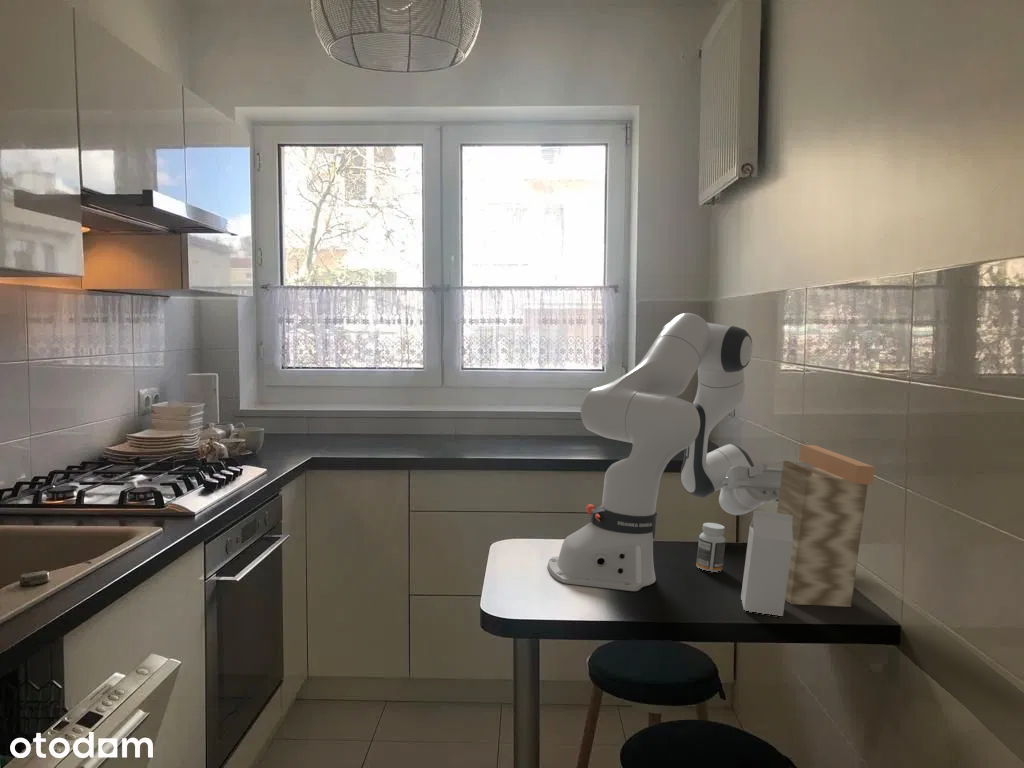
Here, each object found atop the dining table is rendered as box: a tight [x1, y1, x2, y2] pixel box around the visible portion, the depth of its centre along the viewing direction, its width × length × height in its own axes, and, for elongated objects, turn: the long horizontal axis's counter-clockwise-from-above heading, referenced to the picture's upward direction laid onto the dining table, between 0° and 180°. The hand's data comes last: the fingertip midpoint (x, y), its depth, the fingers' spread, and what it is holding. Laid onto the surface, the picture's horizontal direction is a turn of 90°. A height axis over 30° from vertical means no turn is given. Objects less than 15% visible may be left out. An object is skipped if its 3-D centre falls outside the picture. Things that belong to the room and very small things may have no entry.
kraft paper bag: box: [776, 460, 869, 608], centre depth 157 cm, size 13×10×27 cm
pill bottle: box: [695, 522, 727, 573], centre depth 170 cm, size 6×6×10 cm
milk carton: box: [740, 510, 793, 617], centre depth 148 cm, size 7×7×19 cm
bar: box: [798, 444, 875, 485], centre depth 158 cm, size 4×22×4 cm, turn 7°
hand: (783, 468), depth 179 cm, fingers open, 8 cm apart
